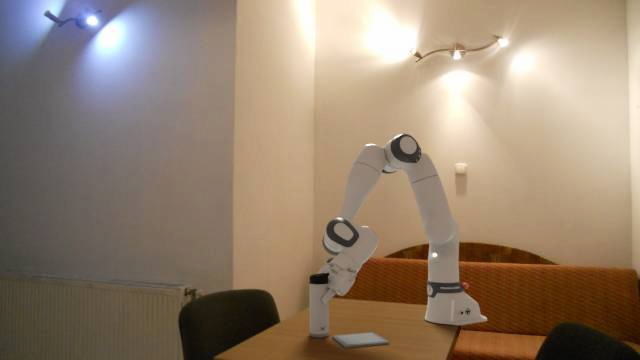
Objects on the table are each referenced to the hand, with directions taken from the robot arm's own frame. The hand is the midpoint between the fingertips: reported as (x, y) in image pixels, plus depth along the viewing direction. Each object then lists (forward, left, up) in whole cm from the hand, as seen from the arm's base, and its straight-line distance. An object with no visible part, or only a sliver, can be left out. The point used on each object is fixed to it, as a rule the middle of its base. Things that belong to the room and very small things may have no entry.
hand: (317, 299), depth 149 cm
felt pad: (-11, +10, -11) cm, 19 cm away
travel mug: (-1, 0, -12) cm, 12 cm away
